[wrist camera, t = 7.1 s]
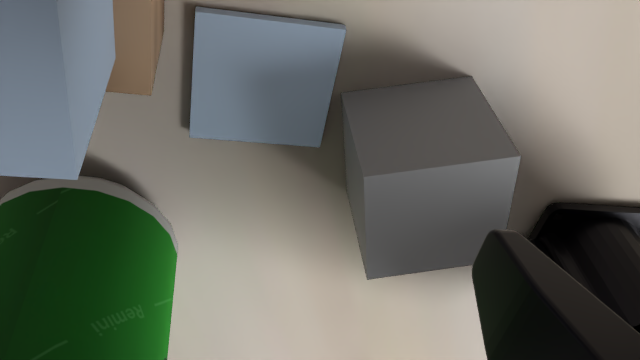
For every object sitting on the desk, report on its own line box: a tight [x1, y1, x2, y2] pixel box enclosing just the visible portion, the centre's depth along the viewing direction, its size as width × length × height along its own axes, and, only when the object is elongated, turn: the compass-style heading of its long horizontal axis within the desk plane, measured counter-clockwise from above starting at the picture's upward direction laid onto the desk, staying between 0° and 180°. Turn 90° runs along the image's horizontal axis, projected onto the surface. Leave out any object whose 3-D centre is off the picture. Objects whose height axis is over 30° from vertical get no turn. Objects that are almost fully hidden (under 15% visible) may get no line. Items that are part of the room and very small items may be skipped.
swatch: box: [189, 6, 346, 147], centre depth 21 cm, size 5×5×1 cm
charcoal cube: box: [341, 76, 521, 280], centre depth 21 cm, size 5×5×5 cm
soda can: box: [0, 176, 178, 360], centre depth 20 cm, size 8×8×12 cm
